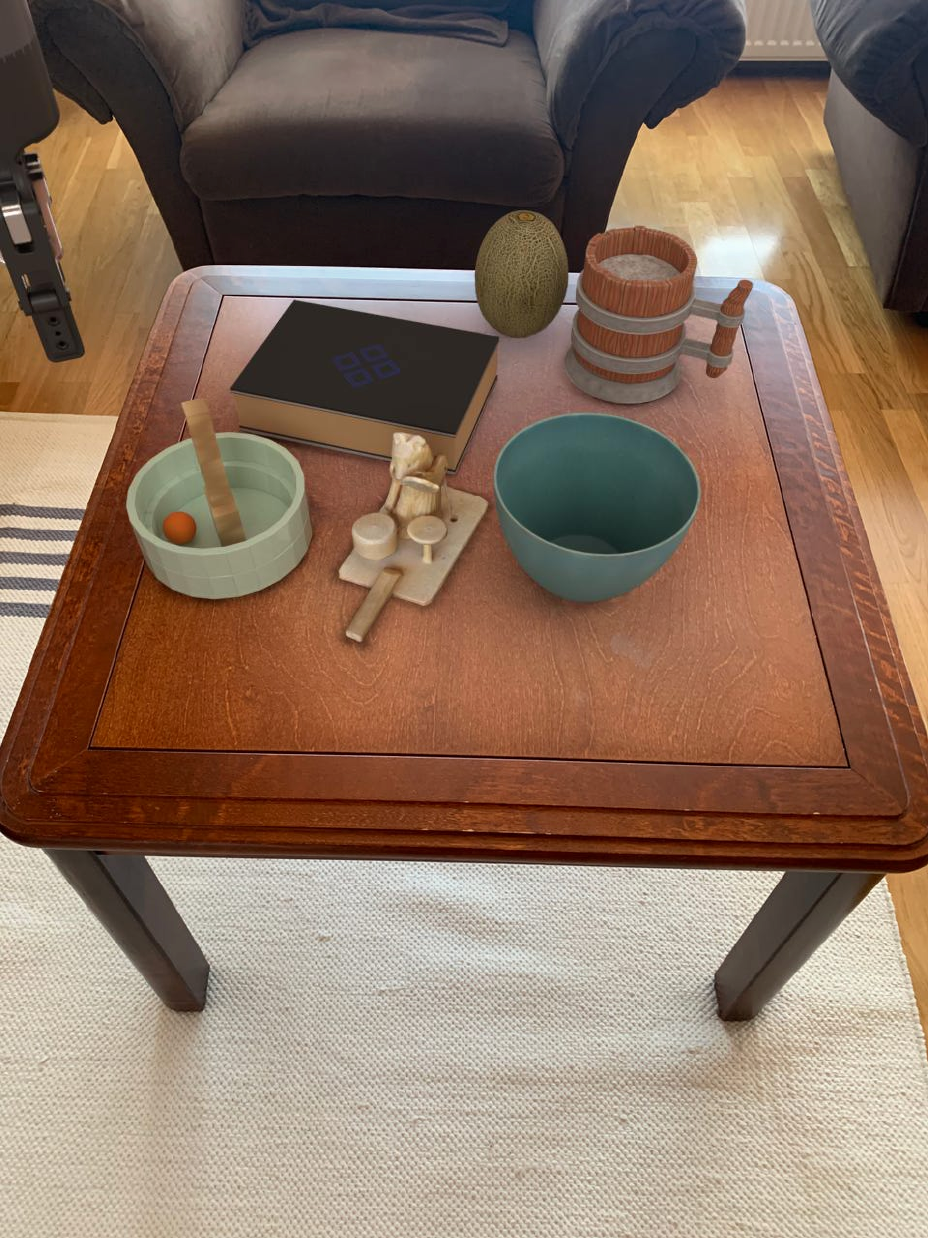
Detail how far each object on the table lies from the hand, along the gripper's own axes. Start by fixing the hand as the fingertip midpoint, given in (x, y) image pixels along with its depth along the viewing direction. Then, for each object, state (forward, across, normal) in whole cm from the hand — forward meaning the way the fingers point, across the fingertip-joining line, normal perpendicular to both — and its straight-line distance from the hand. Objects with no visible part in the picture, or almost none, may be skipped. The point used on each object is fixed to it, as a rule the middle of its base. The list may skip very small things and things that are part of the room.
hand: (58, 320), depth 58 cm
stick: (+33, -11, +8) cm, 36 cm away
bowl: (+34, -11, +8) cm, 36 cm away
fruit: (+32, -33, +50) cm, 68 cm away
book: (+33, -25, +28) cm, 50 cm away
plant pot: (+33, +6, +39) cm, 51 cm away
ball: (+31, -12, +4) cm, 34 cm away
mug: (+32, -19, +60) cm, 71 cm away
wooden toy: (+33, -2, +23) cm, 41 cm away
